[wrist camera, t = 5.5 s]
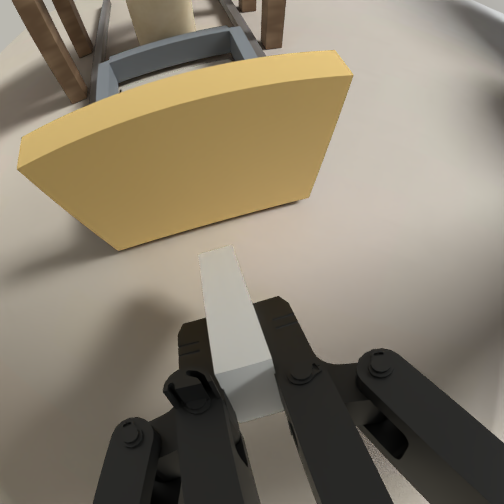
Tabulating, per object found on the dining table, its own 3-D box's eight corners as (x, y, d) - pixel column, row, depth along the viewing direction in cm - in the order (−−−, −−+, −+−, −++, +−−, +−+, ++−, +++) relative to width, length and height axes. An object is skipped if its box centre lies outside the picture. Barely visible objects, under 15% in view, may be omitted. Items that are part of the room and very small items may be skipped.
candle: (202, 48, 23) (189, -43, 14) (143, 65, 23) (115, -23, 13) (191, 23, 25) (179, -56, 15) (139, 37, 24) (117, -39, 15)
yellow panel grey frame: (239, 44, 23) (236, -51, 13) (308, 197, 19) (353, 74, 9) (107, 80, 22) (69, -7, 12) (118, 250, 18) (16, 168, 8)
